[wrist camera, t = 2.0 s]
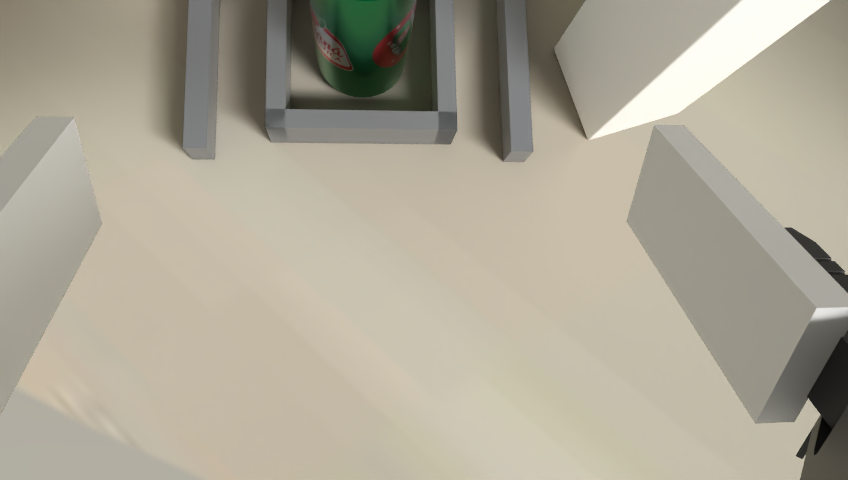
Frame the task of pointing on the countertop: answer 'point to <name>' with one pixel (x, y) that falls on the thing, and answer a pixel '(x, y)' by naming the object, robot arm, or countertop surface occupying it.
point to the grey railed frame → (357, 123)
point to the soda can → (362, 43)
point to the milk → (662, 53)
